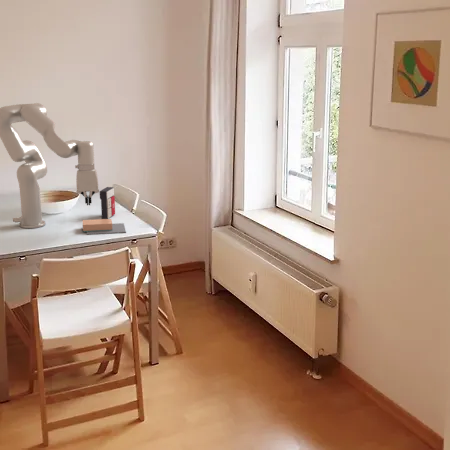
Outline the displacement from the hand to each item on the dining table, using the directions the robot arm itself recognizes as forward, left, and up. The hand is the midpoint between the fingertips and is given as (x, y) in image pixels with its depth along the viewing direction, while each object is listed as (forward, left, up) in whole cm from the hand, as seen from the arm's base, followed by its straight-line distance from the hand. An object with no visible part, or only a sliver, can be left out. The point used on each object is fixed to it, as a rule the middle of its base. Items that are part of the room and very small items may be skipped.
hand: (88, 204), depth 314 cm
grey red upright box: (+10, +24, -13) cm, 29 cm away
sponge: (-3, 0, -11) cm, 11 cm away
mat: (+8, 0, -13) cm, 15 cm away
